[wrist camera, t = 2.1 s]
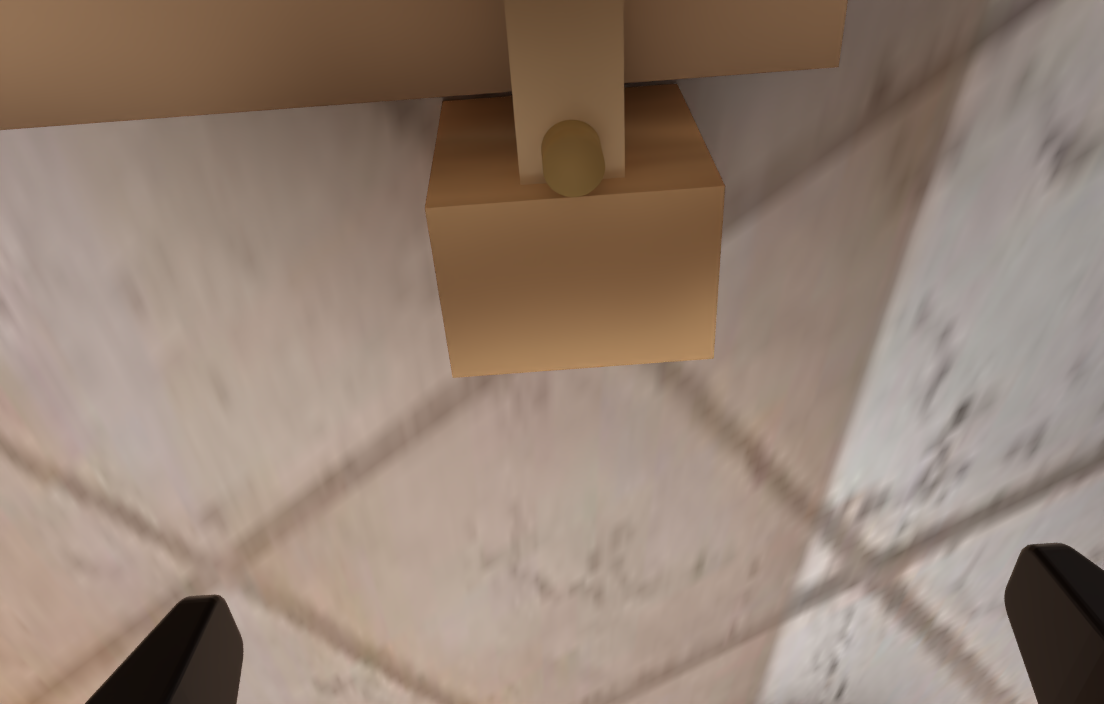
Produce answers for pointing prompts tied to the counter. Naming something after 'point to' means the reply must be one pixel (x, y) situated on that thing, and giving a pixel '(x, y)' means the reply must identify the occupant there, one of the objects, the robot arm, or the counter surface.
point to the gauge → (573, 208)
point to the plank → (350, 51)
